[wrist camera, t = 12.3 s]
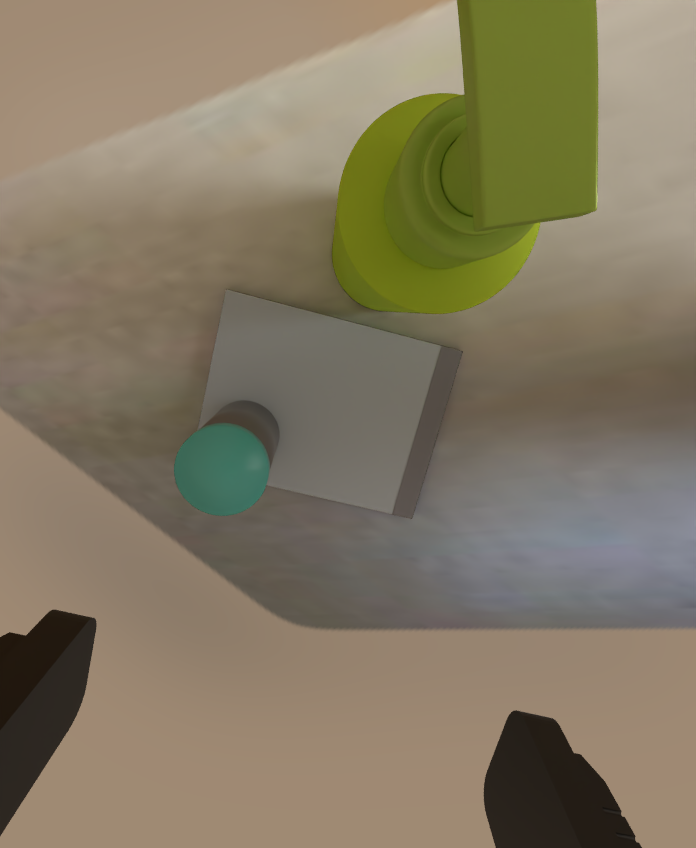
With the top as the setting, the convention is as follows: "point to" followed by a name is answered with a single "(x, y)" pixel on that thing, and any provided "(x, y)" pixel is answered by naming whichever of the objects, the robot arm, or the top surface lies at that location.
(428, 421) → the notepad
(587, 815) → the robot arm
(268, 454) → the marker
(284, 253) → the top surface
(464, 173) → the soap dispenser
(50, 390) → the top surface
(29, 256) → the top surface
